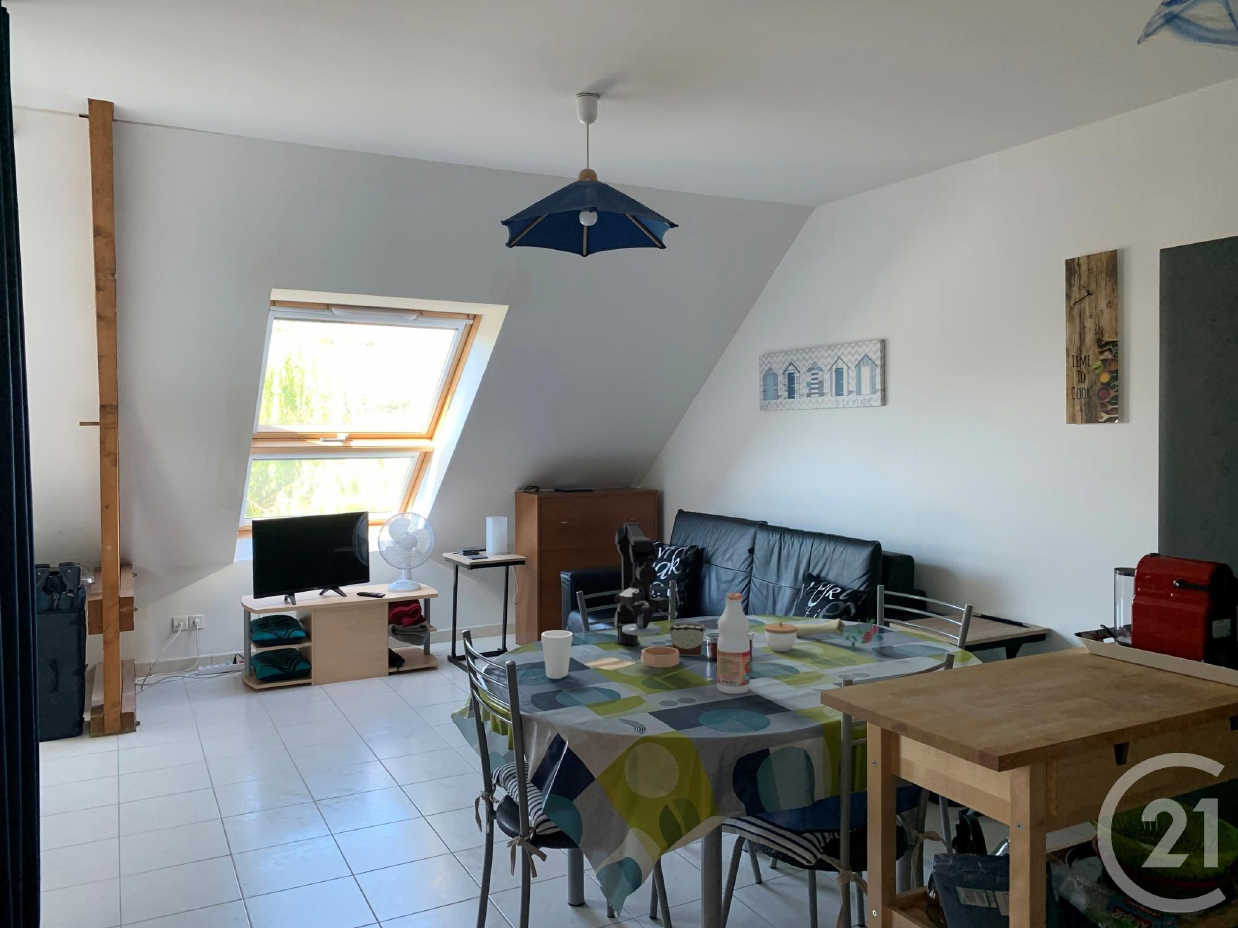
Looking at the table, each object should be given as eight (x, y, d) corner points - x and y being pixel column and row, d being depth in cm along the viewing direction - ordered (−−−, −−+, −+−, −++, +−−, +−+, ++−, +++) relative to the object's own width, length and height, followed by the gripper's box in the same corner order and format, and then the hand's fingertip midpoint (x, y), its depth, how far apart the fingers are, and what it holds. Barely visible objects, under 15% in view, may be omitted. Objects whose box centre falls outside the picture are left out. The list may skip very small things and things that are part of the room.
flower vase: (807, 656, 335) (891, 653, 310) (785, 651, 327) (870, 647, 302) (807, 624, 339) (891, 617, 313) (786, 618, 331) (870, 611, 306)
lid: (614, 631, 296) (614, 615, 295) (639, 624, 305) (639, 609, 305) (643, 637, 287) (643, 621, 287) (668, 630, 296) (668, 615, 296)
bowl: (634, 663, 297) (634, 651, 297) (657, 656, 306) (657, 644, 305) (663, 670, 289) (663, 657, 289) (685, 662, 298) (685, 650, 298)
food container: (705, 651, 313) (705, 622, 312) (705, 656, 307) (705, 626, 306) (669, 650, 314) (669, 621, 313) (668, 655, 308) (668, 625, 307)
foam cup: (577, 673, 286) (577, 631, 285) (565, 681, 277) (565, 638, 276) (548, 670, 289) (548, 629, 288) (536, 678, 280) (536, 635, 280)
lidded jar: (761, 651, 313) (761, 624, 312) (768, 644, 322) (768, 617, 322) (793, 654, 309) (793, 626, 308) (799, 647, 318) (799, 620, 318)
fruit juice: (712, 686, 272) (713, 592, 271) (742, 684, 274) (743, 590, 273) (723, 695, 263) (723, 598, 261) (754, 693, 265) (755, 596, 264)
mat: (583, 665, 295) (583, 664, 295) (608, 657, 304) (608, 656, 304) (611, 672, 287) (611, 670, 287) (636, 664, 296) (636, 662, 296)
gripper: (603, 578, 296) (603, 626, 296) (647, 585, 283) (647, 636, 284) (626, 574, 304) (626, 621, 305) (670, 581, 291) (670, 629, 292)
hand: (641, 627), depth 296 cm, fingers closed on lid, 3 cm apart
